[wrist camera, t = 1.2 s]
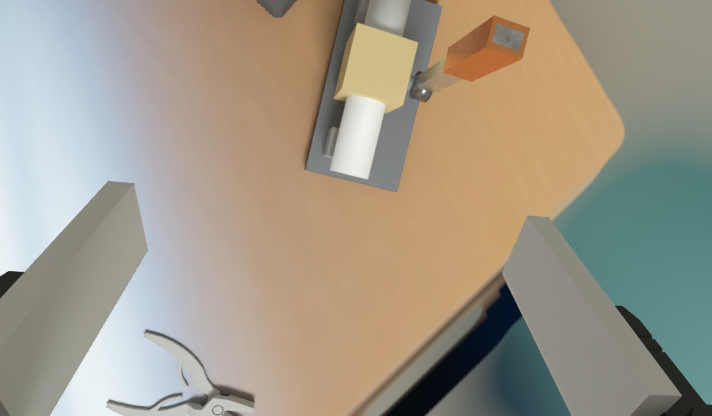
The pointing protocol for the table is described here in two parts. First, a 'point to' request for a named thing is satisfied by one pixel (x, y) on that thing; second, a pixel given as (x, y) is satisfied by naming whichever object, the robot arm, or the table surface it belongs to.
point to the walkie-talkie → (277, 6)
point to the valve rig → (372, 90)
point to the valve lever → (473, 57)
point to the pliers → (211, 412)
